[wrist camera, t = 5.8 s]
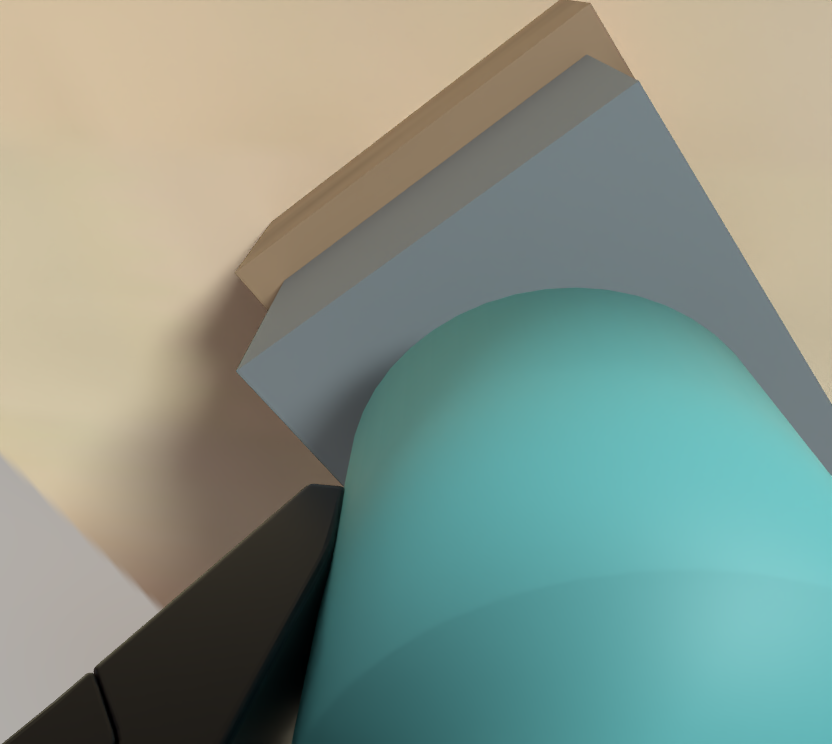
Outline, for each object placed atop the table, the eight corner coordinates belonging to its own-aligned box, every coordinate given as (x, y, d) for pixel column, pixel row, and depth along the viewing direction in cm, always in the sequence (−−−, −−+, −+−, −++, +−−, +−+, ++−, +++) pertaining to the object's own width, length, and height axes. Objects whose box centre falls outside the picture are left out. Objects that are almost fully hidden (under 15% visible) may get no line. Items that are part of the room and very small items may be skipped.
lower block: (733, 288, 17) (798, 357, 14) (465, 449, 19) (469, 542, 16) (558, -2, 15) (590, 3, 11) (274, 218, 17) (234, 272, 13)
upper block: (768, 350, 14) (864, 458, 11) (485, 514, 16) (495, 648, 12) (586, 54, 12) (639, 80, 9) (284, 280, 14) (236, 371, 10)
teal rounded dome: (811, 581, 10) (1063, 990, 6) (440, 681, 11) (437, 1092, 7) (719, 218, 8) (1002, 452, 4) (277, 379, 9) (137, 703, 5)
